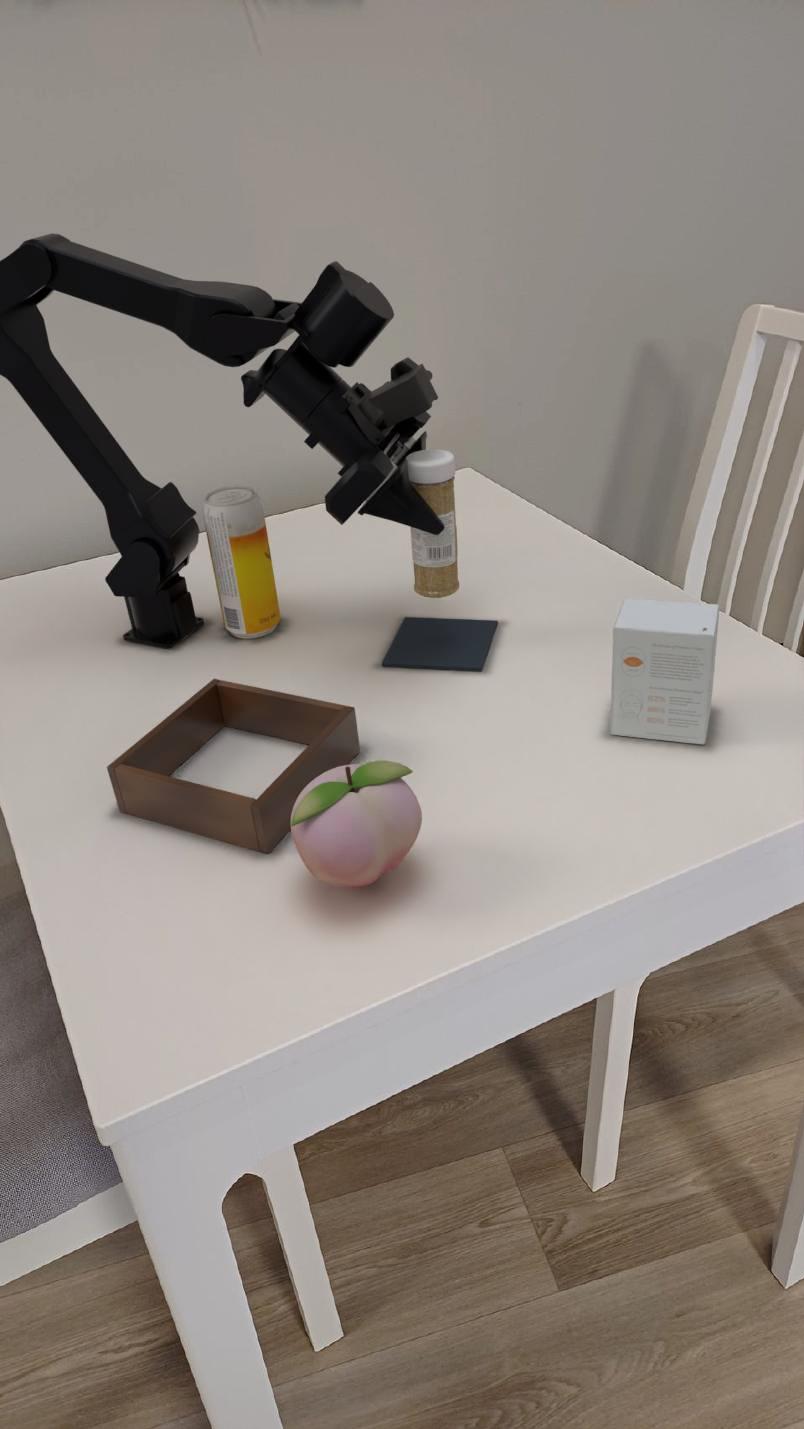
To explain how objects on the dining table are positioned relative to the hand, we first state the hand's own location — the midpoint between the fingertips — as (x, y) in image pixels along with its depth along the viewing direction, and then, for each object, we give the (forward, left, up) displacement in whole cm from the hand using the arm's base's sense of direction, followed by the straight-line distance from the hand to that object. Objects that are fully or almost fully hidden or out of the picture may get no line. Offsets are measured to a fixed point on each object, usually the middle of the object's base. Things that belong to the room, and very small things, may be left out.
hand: (446, 522), depth 93 cm
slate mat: (-1, 0, -13) cm, 13 cm away
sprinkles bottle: (-1, 0, -7) cm, 7 cm away
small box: (+23, -7, -13) cm, 27 cm away
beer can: (-22, -3, -13) cm, 26 cm away
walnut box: (-7, -27, -13) cm, 31 cm away
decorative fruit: (+8, -34, -13) cm, 37 cm away
